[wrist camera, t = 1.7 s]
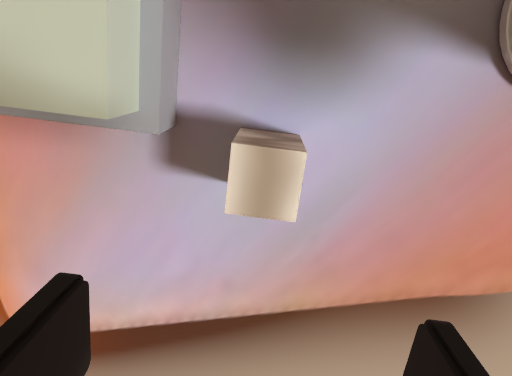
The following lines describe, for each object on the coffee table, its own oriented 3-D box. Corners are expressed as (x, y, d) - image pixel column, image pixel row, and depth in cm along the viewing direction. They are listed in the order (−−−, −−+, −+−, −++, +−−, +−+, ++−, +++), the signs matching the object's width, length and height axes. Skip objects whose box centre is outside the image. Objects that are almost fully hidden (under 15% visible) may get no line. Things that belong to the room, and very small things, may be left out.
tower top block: (140, -33, 23) (105, -61, 18) (138, 110, 25) (107, 119, 21) (0, -50, 23) (-72, -83, 18) (13, 95, 25) (-47, 100, 21)
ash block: (299, 135, 30) (307, 152, 23) (290, 191, 32) (295, 222, 25) (240, 127, 30) (231, 142, 23) (234, 184, 32) (224, 213, 25)
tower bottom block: (184, -34, 27) (165, -57, 22) (176, 125, 31) (158, 134, 26) (27, -54, 27) (-26, -81, 22) (38, 107, 31) (-5, 113, 26)
